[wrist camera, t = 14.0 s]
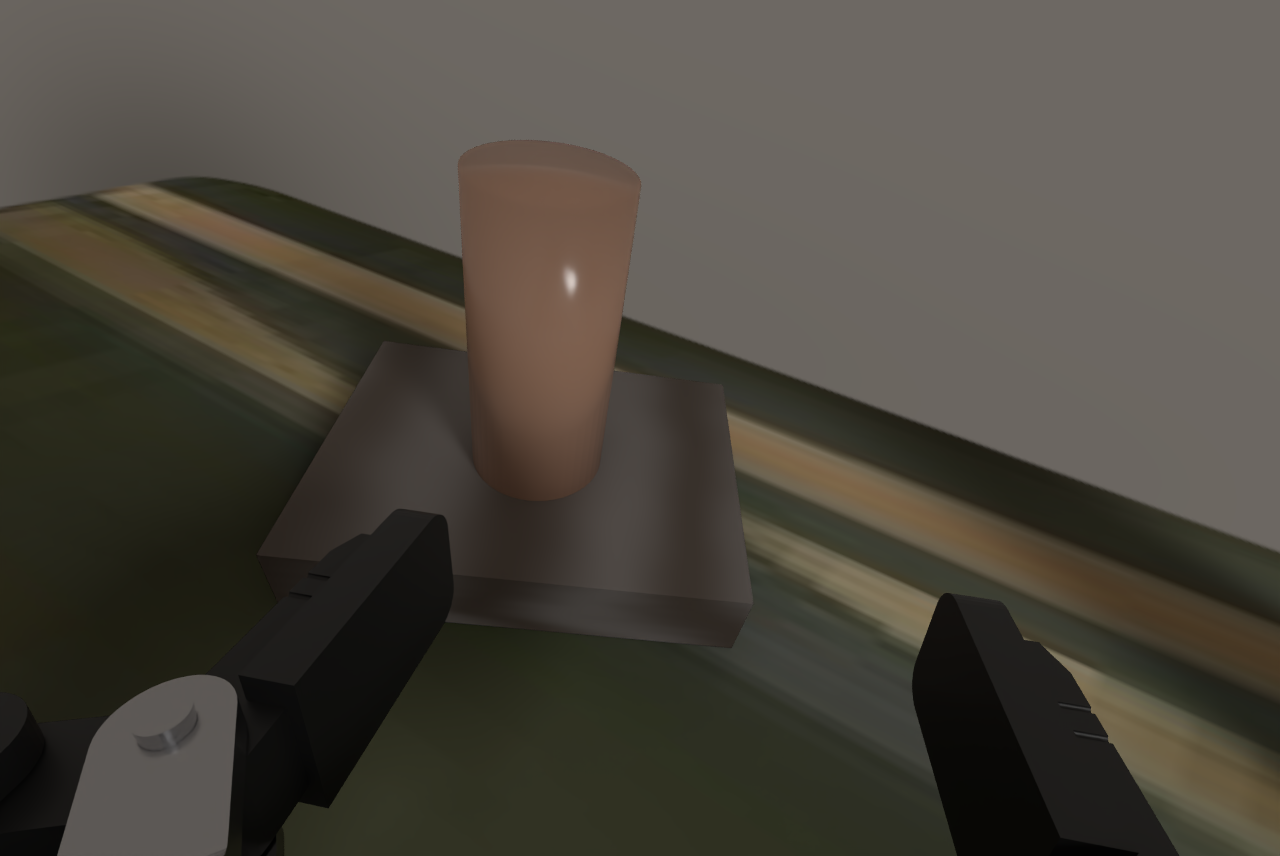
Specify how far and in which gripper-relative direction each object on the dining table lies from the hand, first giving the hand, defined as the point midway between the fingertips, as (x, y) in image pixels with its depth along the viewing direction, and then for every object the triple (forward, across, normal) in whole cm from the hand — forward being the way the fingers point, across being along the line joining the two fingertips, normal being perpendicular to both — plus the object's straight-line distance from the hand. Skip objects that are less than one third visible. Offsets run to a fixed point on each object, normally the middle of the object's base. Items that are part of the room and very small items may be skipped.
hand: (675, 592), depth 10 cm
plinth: (+13, +7, +8) cm, 17 cm away
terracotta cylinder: (+12, +6, +5) cm, 15 cm away
